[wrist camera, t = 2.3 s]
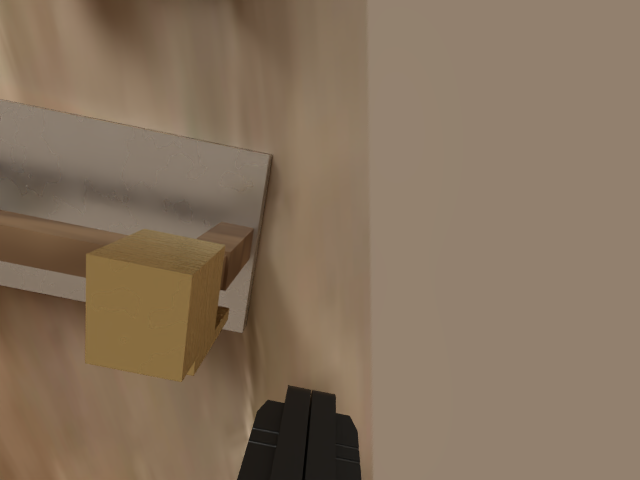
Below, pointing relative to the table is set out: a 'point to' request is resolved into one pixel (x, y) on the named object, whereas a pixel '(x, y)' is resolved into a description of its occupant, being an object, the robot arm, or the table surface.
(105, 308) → the sliding head
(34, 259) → the bar
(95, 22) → the table surface
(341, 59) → the table surface
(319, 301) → the table surface
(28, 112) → the bolt plate
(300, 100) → the table surface
